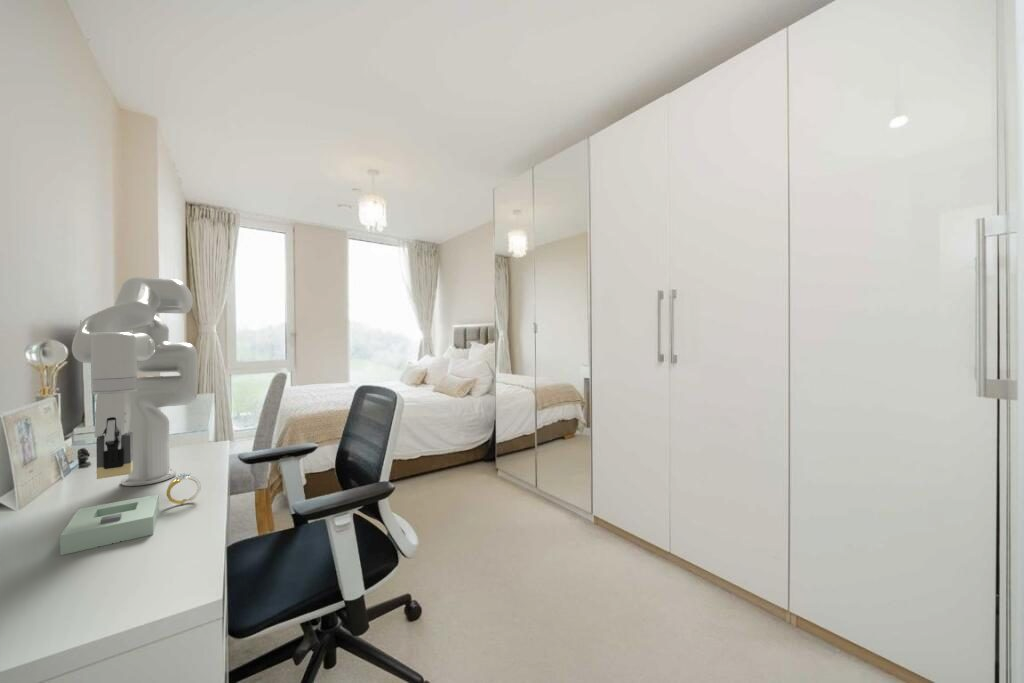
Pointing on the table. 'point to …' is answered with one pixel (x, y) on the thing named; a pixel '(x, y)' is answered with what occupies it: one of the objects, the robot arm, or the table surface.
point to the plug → (128, 457)
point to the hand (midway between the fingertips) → (115, 464)
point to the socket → (110, 524)
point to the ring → (177, 480)
